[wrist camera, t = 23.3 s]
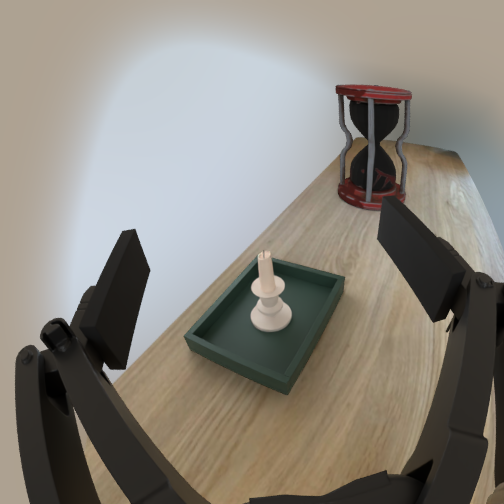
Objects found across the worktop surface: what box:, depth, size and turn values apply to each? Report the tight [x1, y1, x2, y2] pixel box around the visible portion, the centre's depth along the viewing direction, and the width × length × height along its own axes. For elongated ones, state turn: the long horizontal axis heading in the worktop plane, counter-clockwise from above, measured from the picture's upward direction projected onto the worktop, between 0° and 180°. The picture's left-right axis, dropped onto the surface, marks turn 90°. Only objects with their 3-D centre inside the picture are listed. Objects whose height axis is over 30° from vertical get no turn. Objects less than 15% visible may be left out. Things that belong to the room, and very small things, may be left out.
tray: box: [184, 254, 345, 395], centre depth 37 cm, size 18×14×3 cm
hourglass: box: [336, 85, 412, 210], centre depth 56 cm, size 16×16×25 cm
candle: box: [251, 250, 292, 332], centre depth 34 cm, size 5×5×10 cm
